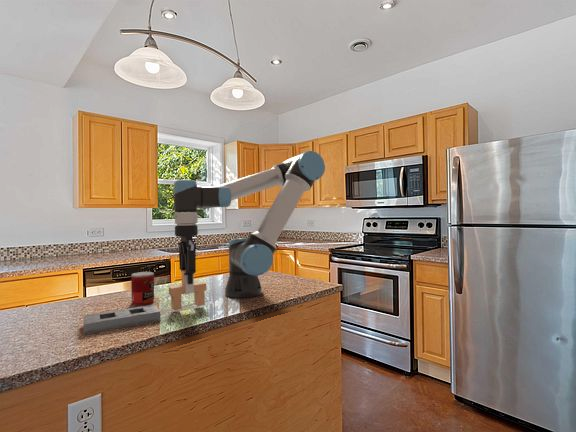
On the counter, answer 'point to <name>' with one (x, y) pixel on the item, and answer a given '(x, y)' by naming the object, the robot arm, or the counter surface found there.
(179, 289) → the clip
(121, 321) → the grey slotted base
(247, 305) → the counter surface
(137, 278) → the canned food
